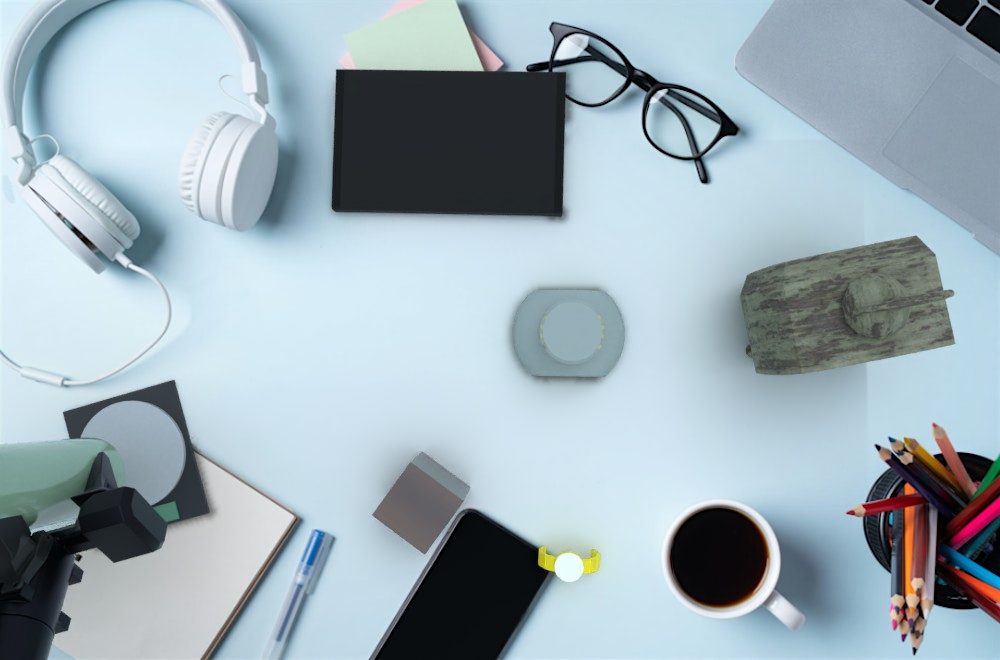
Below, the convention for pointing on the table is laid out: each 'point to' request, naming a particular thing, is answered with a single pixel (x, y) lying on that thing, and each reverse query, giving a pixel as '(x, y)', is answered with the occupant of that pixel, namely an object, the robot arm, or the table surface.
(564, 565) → the watch
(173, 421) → the scale
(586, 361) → the air freshener
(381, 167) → the external hard drive
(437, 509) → the block
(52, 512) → the canister
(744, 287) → the toy tank
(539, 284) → the table surface
